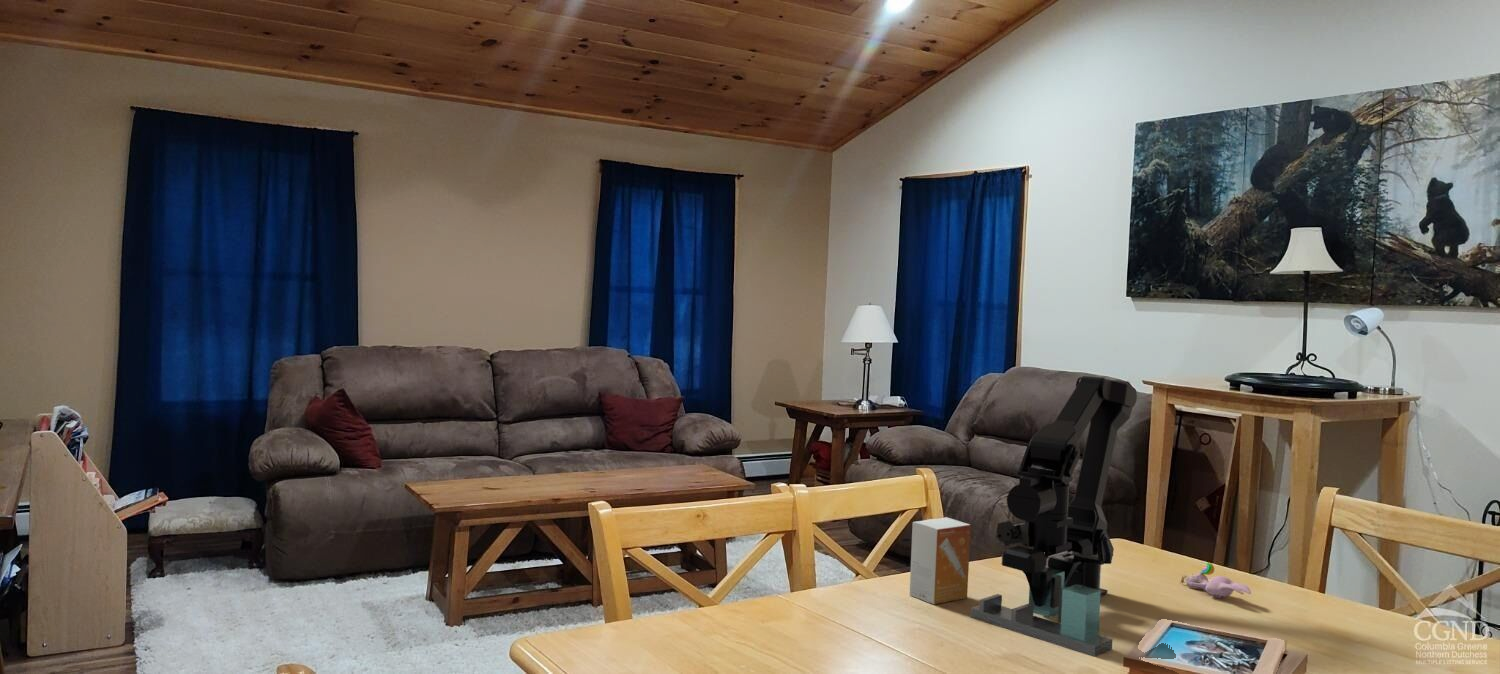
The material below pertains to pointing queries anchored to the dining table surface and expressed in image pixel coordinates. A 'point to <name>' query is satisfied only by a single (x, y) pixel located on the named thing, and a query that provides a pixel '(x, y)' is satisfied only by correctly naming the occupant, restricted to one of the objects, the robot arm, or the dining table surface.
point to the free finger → (1050, 595)
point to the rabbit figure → (1214, 583)
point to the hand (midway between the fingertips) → (1045, 603)
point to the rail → (1073, 614)
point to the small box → (940, 560)
